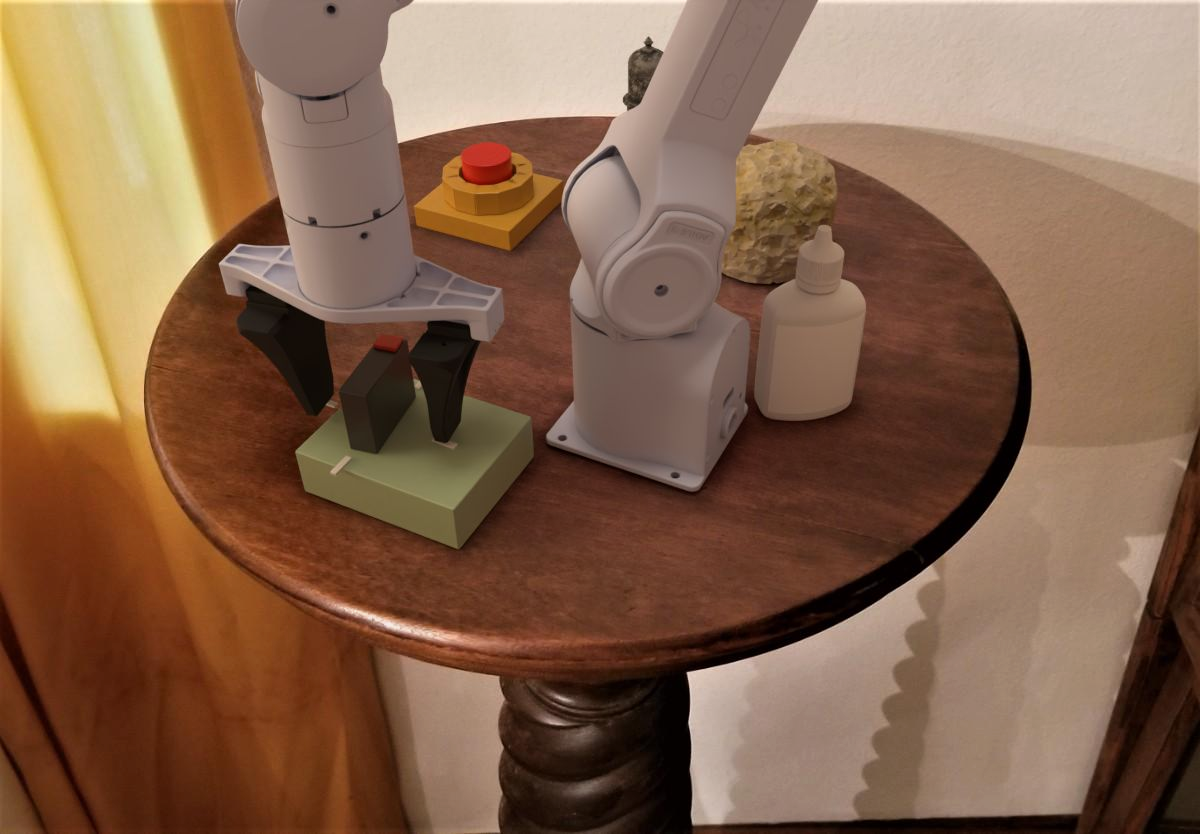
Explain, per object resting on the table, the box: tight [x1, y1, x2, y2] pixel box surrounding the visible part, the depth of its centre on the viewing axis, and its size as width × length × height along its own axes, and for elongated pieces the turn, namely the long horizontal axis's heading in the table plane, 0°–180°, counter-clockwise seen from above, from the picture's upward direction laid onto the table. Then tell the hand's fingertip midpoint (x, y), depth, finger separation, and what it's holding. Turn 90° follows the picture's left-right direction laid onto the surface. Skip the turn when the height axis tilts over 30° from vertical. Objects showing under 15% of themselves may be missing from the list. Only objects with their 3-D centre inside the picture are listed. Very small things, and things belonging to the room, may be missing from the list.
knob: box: [338, 333, 416, 454], centre depth 61 cm, size 5×2×4 cm, turn 163°
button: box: [460, 142, 513, 185], centre depth 83 cm, size 4×4×2 cm
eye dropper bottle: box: [753, 225, 867, 422], centre depth 64 cm, size 4×6×12 cm
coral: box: [722, 138, 839, 285], centre depth 78 cm, size 9×9×8 cm
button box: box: [413, 151, 564, 252], centre depth 84 cm, size 8×8×4 cm
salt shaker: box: [622, 36, 664, 112], centre depth 84 cm, size 6×6×12 cm
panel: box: [295, 378, 535, 550], centre depth 63 cm, size 12×9×3 cm
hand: (383, 417), depth 62 cm, fingers open, 7 cm apart
